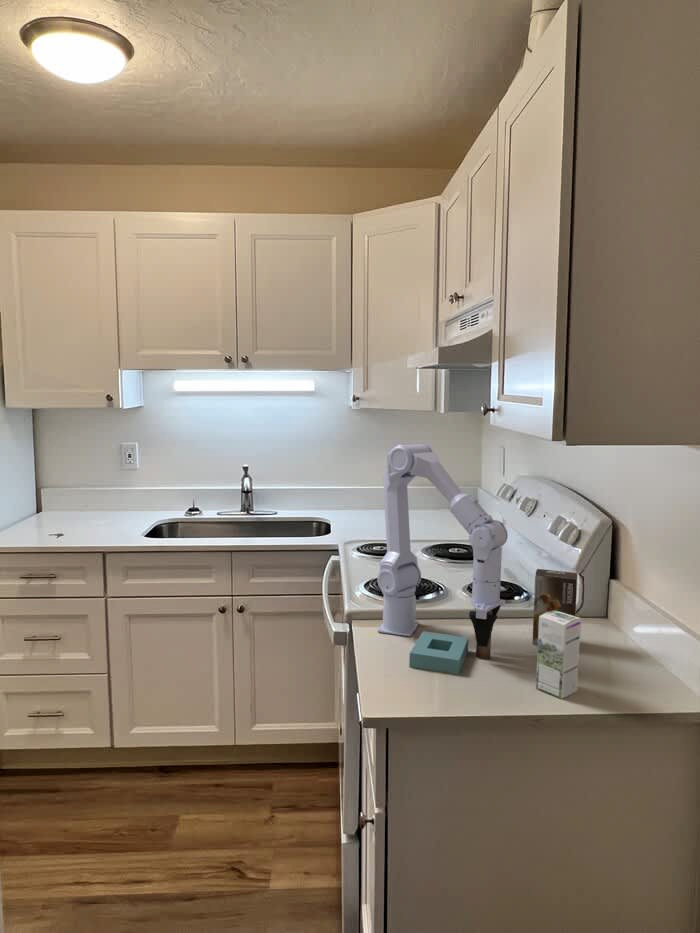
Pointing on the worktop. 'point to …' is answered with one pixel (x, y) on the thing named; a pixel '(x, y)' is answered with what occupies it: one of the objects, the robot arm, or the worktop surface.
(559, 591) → the coffee box
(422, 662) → the hole block
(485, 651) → the walnut peg
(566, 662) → the syrup box
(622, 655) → the worktop surface
